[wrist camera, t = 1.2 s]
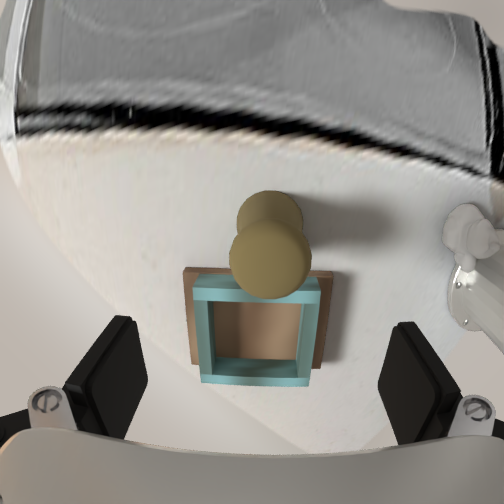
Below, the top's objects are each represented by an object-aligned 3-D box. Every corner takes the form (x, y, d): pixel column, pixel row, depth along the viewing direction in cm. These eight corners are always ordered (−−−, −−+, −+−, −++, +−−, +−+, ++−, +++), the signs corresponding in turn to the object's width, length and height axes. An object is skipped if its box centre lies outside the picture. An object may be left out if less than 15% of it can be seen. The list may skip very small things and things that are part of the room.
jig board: (331, 271, 30) (339, 290, 26) (319, 362, 34) (323, 386, 30) (185, 267, 31) (174, 285, 27) (193, 357, 35) (186, 381, 31)
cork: (299, 186, 28) (318, 212, 18) (306, 251, 30) (324, 308, 20) (231, 195, 29) (210, 225, 18) (241, 258, 30) (228, 318, 20)
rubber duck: (477, 200, 27) (524, 218, 20) (470, 259, 29) (512, 289, 22) (437, 199, 28) (482, 219, 20) (431, 262, 30) (470, 296, 22)
